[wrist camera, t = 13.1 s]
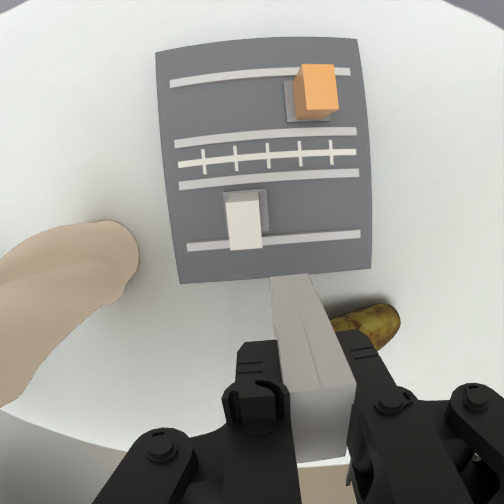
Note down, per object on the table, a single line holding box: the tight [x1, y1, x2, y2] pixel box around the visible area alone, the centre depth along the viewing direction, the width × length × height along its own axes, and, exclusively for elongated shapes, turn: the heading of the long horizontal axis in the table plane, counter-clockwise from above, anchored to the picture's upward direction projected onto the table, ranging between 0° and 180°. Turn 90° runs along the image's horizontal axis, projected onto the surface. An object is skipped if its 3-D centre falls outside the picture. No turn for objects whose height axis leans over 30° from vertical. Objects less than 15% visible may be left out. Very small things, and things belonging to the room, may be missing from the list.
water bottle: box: [0, 220, 139, 408], centre depth 20 cm, size 10×9×28 cm
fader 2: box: [283, 64, 339, 123], centre depth 24 cm, size 4×4×7 cm
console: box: [155, 37, 372, 284], centre depth 29 cm, size 20×24×3 cm
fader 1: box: [223, 188, 270, 251], centre depth 27 cm, size 4×4×7 cm
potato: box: [329, 303, 401, 351], centre depth 32 cm, size 8×13×8 cm, turn 88°
